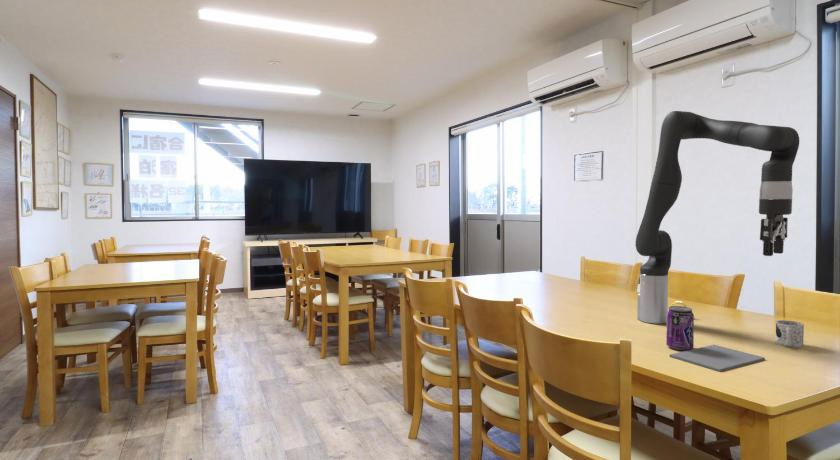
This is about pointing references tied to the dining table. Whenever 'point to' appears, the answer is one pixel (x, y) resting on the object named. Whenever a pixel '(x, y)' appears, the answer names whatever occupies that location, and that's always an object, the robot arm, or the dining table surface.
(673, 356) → the mat
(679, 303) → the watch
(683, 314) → the beverage can
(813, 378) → the dining table surface
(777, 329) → the mug
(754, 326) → the dining table surface
